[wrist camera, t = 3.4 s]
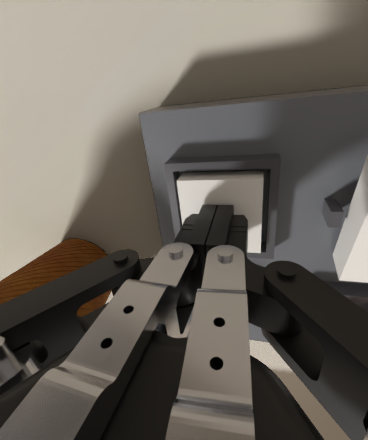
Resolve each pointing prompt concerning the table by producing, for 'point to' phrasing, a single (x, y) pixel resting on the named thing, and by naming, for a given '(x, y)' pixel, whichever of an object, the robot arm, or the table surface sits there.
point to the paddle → (225, 197)
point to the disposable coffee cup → (54, 271)
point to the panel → (270, 168)
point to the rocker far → (354, 236)
